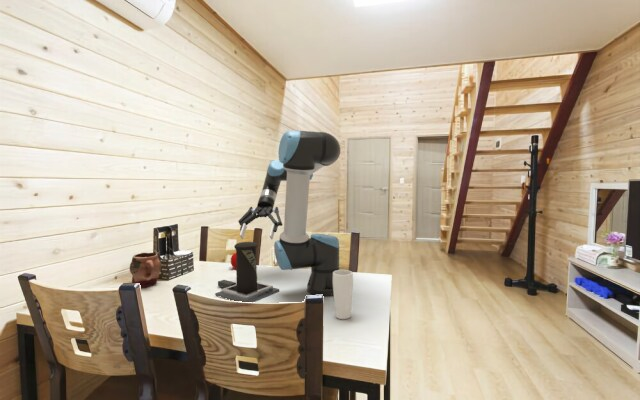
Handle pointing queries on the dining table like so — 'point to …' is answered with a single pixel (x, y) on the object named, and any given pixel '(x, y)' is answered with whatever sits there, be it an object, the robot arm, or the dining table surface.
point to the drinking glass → (342, 293)
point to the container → (246, 267)
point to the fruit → (233, 260)
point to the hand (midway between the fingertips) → (256, 237)
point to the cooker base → (232, 294)
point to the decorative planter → (145, 269)
